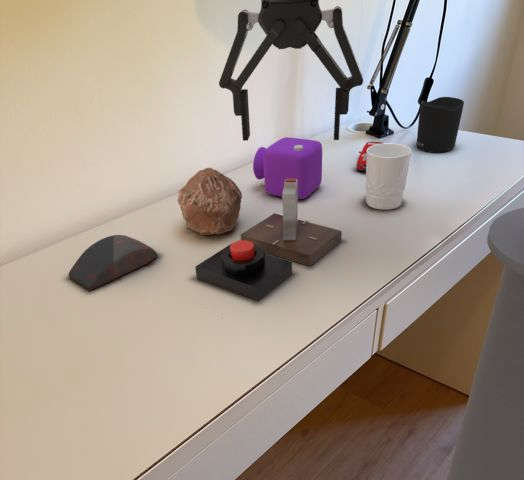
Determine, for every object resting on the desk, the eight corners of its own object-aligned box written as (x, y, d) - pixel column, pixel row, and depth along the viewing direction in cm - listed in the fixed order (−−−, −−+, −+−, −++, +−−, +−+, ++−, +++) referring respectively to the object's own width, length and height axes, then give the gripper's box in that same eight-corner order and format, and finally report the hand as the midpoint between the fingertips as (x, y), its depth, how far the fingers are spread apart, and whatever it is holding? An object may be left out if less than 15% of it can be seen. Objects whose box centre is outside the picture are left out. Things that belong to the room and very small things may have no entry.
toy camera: (262, 178, 115) (260, 130, 108) (324, 182, 111) (325, 133, 105) (246, 197, 107) (243, 147, 100) (312, 203, 103) (312, 151, 97)
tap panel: (341, 241, 90) (342, 229, 89) (309, 266, 84) (309, 254, 82) (275, 223, 97) (274, 212, 96) (240, 245, 91) (239, 233, 89)
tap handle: (295, 240, 87) (295, 192, 81) (283, 240, 87) (282, 192, 82) (297, 224, 91) (297, 177, 86) (286, 224, 91) (285, 177, 86)
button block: (292, 274, 82) (292, 251, 80) (257, 301, 77) (256, 277, 74) (232, 255, 88) (230, 233, 86) (196, 278, 83) (193, 256, 80)
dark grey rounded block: (163, 259, 88) (159, 237, 86) (92, 293, 81) (86, 270, 78) (135, 245, 93) (130, 224, 90) (66, 276, 85) (58, 254, 83)
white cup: (376, 214, 97) (381, 160, 91) (355, 199, 103) (358, 147, 97) (413, 206, 100) (420, 152, 93) (389, 191, 105) (395, 140, 99)
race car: (379, 175, 113) (380, 156, 110) (354, 173, 114) (355, 155, 112) (387, 154, 122) (389, 136, 120) (364, 153, 124) (365, 135, 121)
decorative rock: (192, 211, 103) (185, 159, 97) (249, 212, 101) (245, 160, 95) (173, 242, 93) (164, 187, 87) (235, 244, 91) (230, 188, 85)
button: (259, 254, 80) (258, 243, 79) (244, 264, 78) (244, 253, 77) (240, 248, 82) (240, 238, 81) (226, 258, 80) (225, 247, 79)
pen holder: (416, 139, 129) (422, 96, 123) (456, 141, 127) (464, 97, 121) (412, 152, 123) (418, 106, 116) (455, 154, 120) (463, 108, 114)
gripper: (388, -43, 68) (373, 129, 81) (199, -34, 71) (214, 130, 84) (393, -40, 62) (376, 145, 75) (186, -30, 65) (205, 145, 78)
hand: (290, 137), depth 80 cm, fingers open, 13 cm apart
